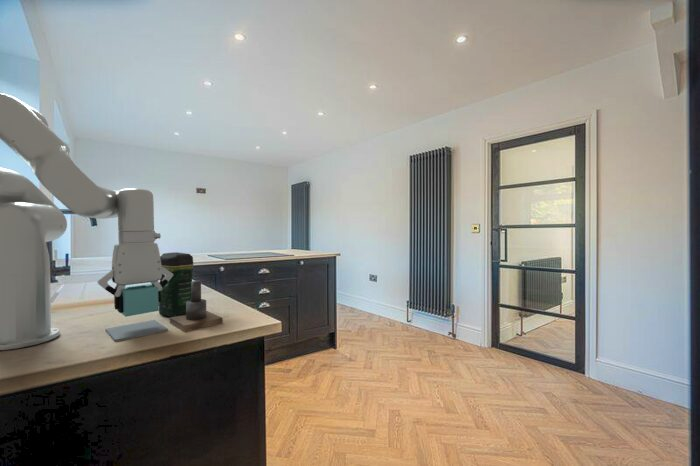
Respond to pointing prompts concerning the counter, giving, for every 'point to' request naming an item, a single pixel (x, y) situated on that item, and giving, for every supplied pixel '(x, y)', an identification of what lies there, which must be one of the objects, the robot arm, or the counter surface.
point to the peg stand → (195, 312)
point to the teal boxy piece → (140, 299)
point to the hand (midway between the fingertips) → (138, 308)
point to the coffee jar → (176, 283)
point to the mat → (135, 330)
